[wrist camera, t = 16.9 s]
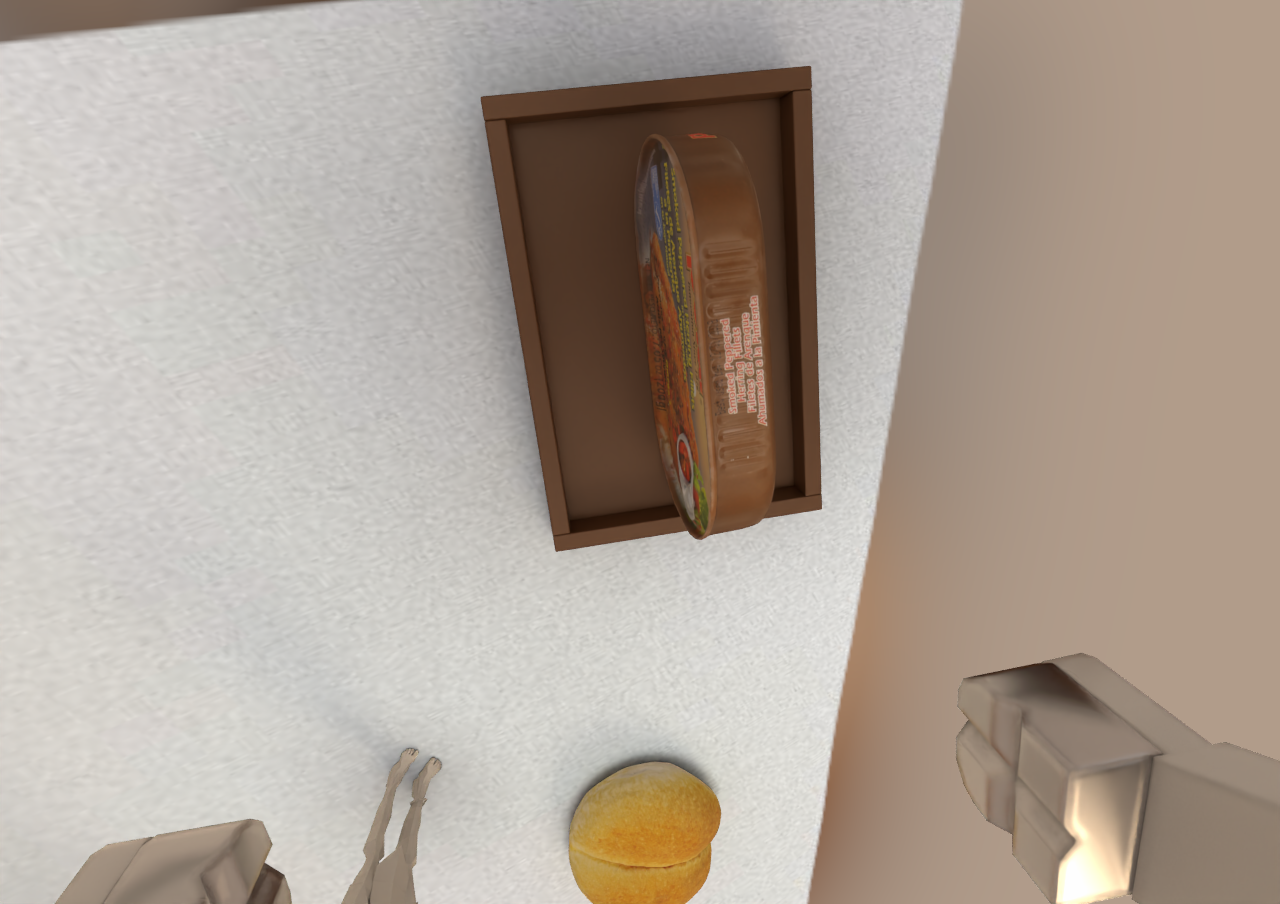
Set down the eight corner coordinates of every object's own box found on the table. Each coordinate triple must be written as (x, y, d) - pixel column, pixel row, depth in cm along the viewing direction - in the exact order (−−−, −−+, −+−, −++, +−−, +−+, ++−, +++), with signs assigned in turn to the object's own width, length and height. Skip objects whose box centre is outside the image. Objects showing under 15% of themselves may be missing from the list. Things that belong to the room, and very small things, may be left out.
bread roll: (724, 755, 38) (744, 812, 34) (695, 877, 40) (711, 943, 37) (579, 750, 36) (583, 809, 33) (558, 877, 39) (560, 946, 35)
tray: (485, 107, 26) (480, 96, 24) (792, 77, 28) (811, 65, 26) (555, 533, 32) (555, 552, 30) (806, 493, 34) (822, 509, 32)
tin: (625, 151, 27) (660, 115, 19) (701, 143, 27) (766, 104, 19) (661, 495, 32) (701, 580, 24) (726, 485, 32) (786, 566, 24)
